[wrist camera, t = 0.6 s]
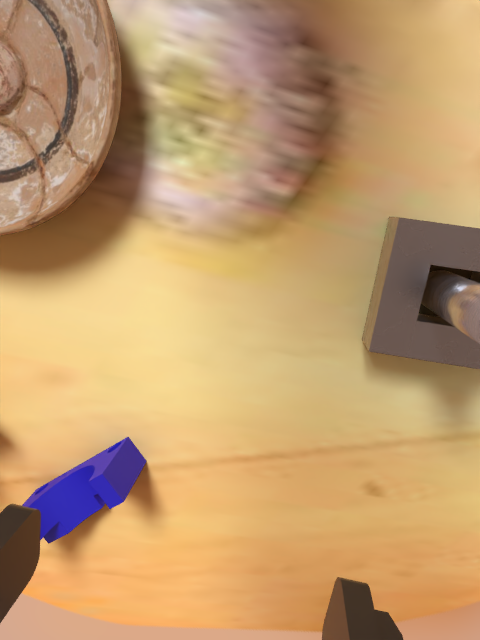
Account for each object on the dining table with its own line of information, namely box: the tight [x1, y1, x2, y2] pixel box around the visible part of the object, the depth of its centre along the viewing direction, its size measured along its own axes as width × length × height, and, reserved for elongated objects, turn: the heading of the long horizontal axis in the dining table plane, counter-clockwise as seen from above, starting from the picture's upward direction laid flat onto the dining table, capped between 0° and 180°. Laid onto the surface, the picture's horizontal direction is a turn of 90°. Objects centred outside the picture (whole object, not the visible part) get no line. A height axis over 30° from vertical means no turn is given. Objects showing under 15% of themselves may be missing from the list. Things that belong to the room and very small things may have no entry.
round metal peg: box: [421, 270, 480, 344], centre depth 28 cm, size 3×3×11 cm
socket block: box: [362, 217, 480, 369], centre depth 32 cm, size 10×10×3 cm
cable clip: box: [22, 437, 146, 543], centre depth 39 cm, size 12×4×6 cm, turn 123°
